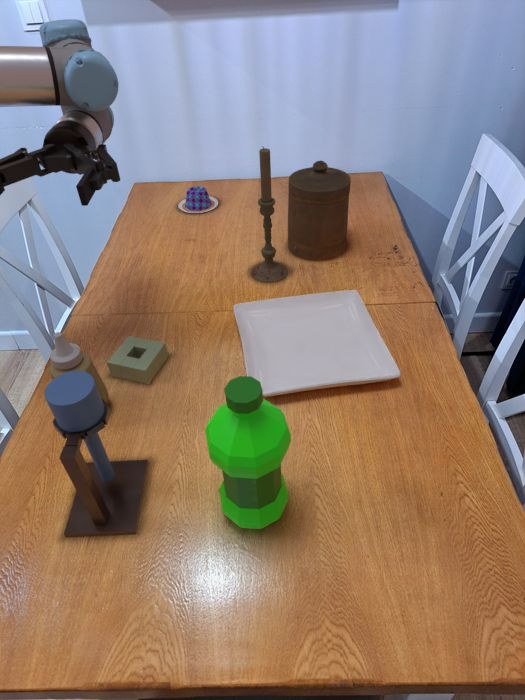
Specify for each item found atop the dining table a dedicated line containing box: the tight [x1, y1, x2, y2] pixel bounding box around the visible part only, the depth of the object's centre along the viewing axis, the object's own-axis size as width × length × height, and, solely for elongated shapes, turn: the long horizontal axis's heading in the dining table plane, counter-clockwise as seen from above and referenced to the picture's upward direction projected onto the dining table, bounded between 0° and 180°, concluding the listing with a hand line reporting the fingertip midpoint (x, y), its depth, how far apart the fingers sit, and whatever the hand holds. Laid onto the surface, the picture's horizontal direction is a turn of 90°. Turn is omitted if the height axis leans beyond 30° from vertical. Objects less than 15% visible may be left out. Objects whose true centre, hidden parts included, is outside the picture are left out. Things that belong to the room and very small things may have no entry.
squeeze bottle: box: [49, 331, 109, 403], centre depth 80 cm, size 8×8×18 cm
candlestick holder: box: [250, 146, 289, 284], centre depth 108 cm, size 9×9×30 cm
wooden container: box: [287, 160, 352, 262], centre depth 119 cm, size 15×15×22 cm
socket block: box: [106, 335, 169, 385], centre depth 93 cm, size 8×8×4 cm
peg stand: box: [52, 398, 150, 538], centre depth 68 cm, size 12×10×17 cm
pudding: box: [177, 185, 219, 214], centre depth 145 cm, size 12×12×5 cm
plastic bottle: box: [204, 375, 292, 530], centre depth 63 cm, size 10×10×25 cm
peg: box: [43, 371, 115, 482], centre depth 66 cm, size 6×6×19 cm
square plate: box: [232, 289, 402, 398], centre depth 95 cm, size 27×27×4 cm
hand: (30, 198), depth 65 cm, fingers open, 13 cm apart
